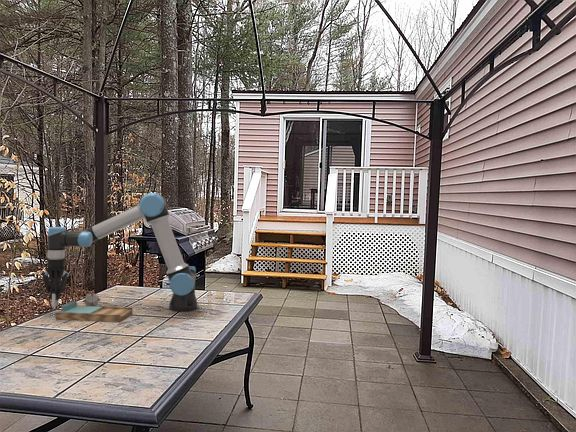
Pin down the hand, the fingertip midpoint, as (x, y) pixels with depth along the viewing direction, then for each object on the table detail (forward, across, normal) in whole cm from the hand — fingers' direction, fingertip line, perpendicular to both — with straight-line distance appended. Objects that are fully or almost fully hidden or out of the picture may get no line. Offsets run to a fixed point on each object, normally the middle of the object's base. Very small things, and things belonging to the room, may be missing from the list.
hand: (54, 306), depth 203 cm
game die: (+5, -10, -17) cm, 20 cm away
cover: (+2, -13, 0) cm, 14 cm away
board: (+4, -20, 0) cm, 21 cm away
